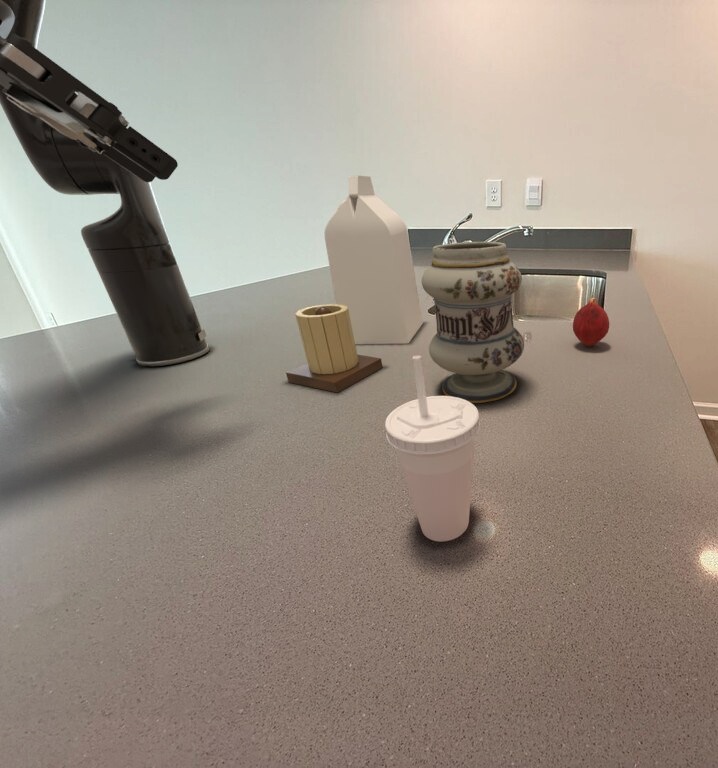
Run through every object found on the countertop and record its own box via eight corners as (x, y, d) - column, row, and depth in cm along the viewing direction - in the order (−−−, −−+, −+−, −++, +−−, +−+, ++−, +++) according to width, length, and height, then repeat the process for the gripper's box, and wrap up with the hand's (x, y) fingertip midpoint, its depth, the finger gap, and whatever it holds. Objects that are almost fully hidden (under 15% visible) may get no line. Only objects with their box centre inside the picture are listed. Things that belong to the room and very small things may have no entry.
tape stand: (288, 382, 56) (268, 312, 52) (337, 359, 64) (323, 296, 60) (337, 392, 53) (320, 318, 49) (382, 367, 61) (371, 301, 56)
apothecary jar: (474, 362, 62) (465, 237, 54) (541, 380, 55) (543, 241, 48) (414, 392, 53) (393, 247, 45) (486, 417, 46) (477, 254, 39)
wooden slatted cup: (299, 370, 56) (284, 314, 53) (334, 354, 62) (322, 302, 58) (334, 377, 54) (320, 318, 51) (367, 360, 59) (357, 306, 56)
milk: (408, 343, 70) (385, 174, 59) (342, 344, 70) (306, 175, 59) (423, 322, 81) (405, 176, 70) (365, 323, 81) (339, 178, 70)
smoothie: (409, 498, 34) (384, 342, 28) (485, 492, 35) (476, 338, 29) (396, 559, 29) (361, 380, 23) (487, 552, 29) (476, 374, 23)
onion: (607, 353, 64) (611, 303, 60) (570, 351, 65) (572, 302, 61) (607, 341, 69) (611, 294, 66) (573, 339, 70) (575, 293, 67)
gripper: (-106, -114, 23) (205, 137, 35) (-65, -27, 32) (172, 149, 44) (-205, -18, 22) (152, 207, 34) (-133, 44, 31) (129, 204, 43)
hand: (163, 174), depth 39 cm, fingers open, 8 cm apart
